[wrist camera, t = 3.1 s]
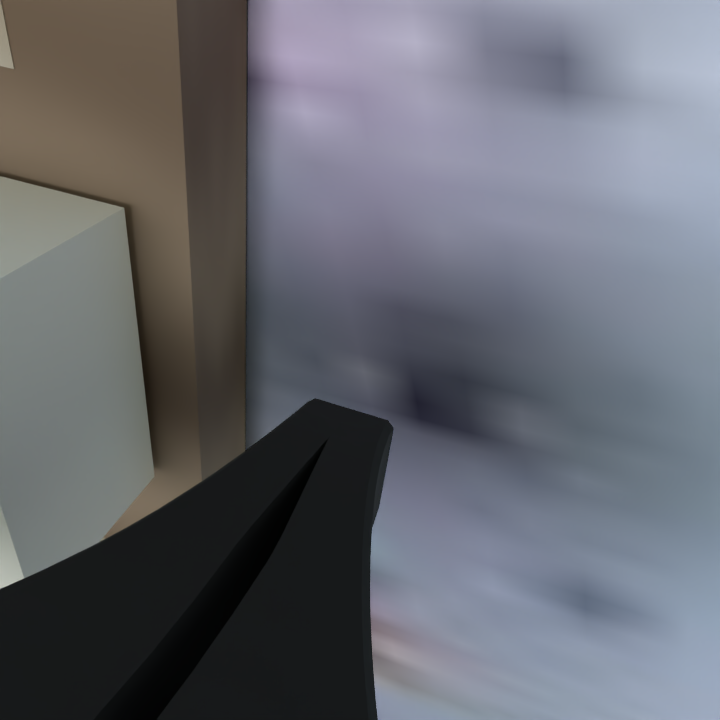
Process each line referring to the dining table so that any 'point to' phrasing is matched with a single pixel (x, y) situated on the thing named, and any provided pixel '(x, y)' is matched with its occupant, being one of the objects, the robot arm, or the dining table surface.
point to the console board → (150, 192)
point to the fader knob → (66, 377)
